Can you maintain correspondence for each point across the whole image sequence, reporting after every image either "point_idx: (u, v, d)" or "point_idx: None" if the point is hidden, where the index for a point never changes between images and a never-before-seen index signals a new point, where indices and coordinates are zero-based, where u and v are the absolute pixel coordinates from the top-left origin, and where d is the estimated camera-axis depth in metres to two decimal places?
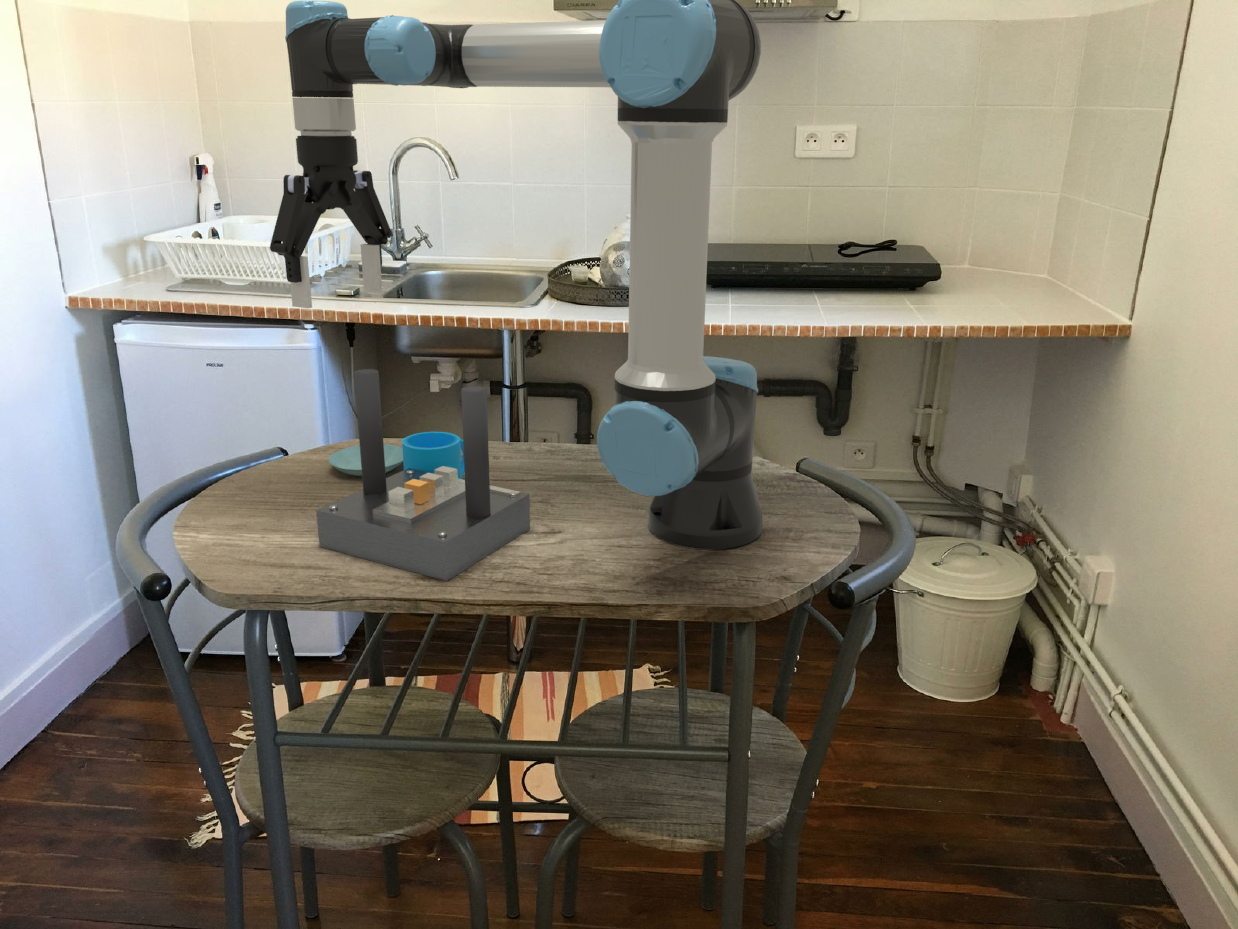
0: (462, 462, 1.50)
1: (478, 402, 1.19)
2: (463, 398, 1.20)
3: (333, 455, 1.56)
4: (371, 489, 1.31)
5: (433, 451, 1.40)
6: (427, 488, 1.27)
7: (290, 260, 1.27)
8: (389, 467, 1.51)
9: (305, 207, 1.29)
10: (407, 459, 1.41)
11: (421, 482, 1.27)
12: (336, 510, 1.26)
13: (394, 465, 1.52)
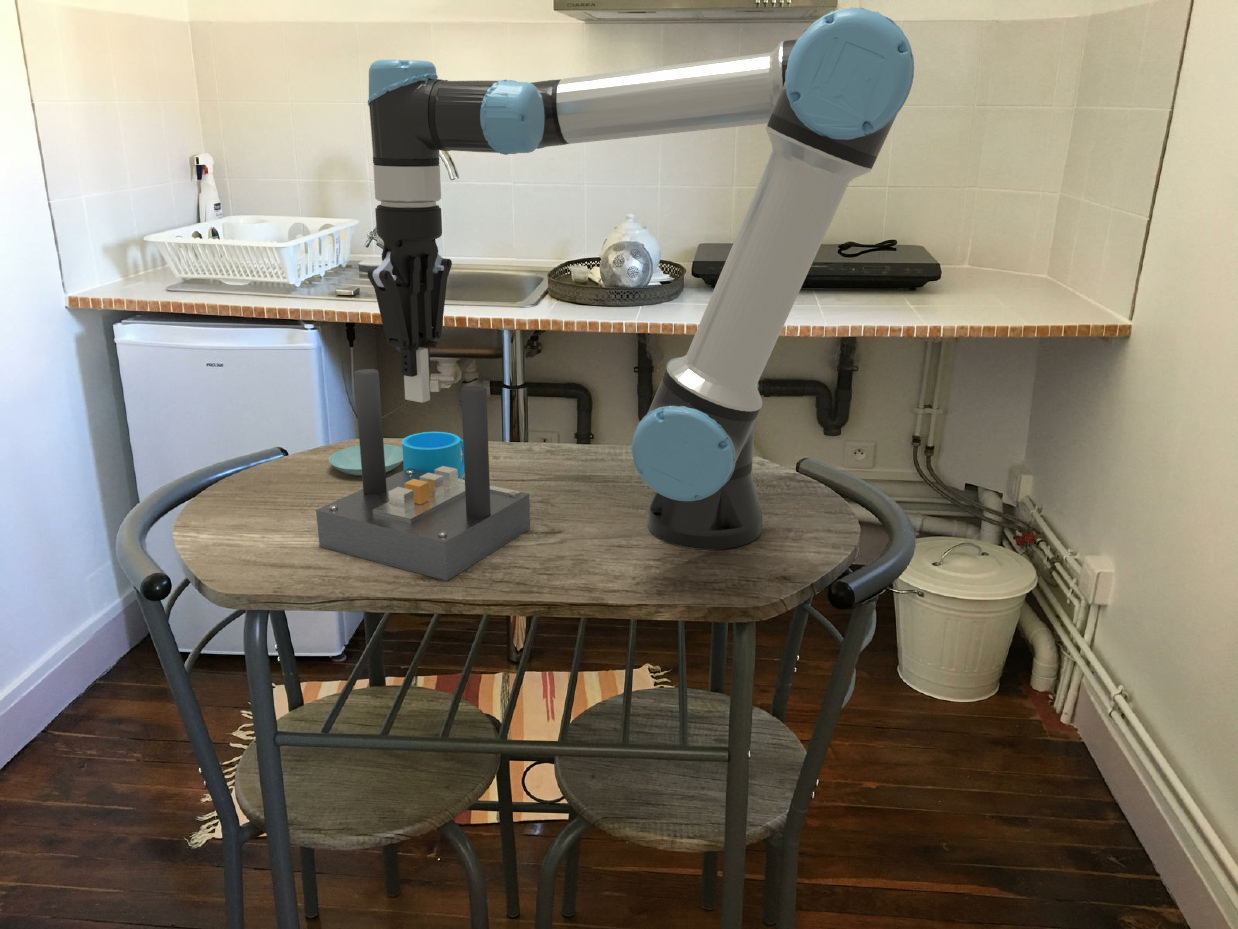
0: (462, 462, 1.50)
1: (478, 402, 1.19)
2: (463, 398, 1.20)
3: (333, 455, 1.56)
4: (371, 489, 1.31)
5: (433, 451, 1.40)
6: (427, 488, 1.27)
7: (407, 354, 1.21)
8: (389, 466, 1.51)
9: (398, 293, 1.19)
10: (407, 459, 1.41)
11: (421, 482, 1.27)
12: (336, 510, 1.26)
13: (394, 465, 1.52)
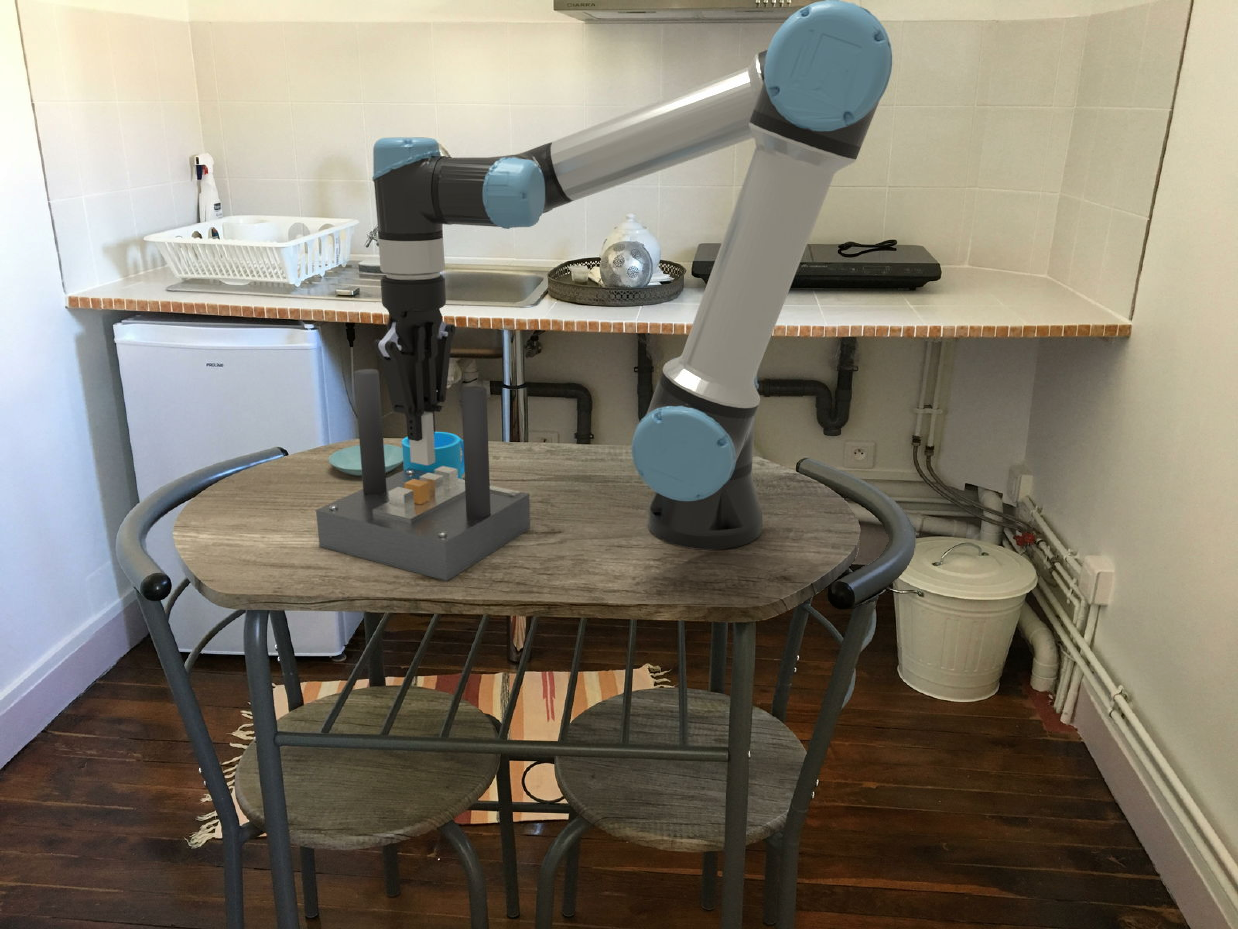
0: (462, 462, 1.50)
1: (478, 402, 1.19)
2: (463, 398, 1.20)
3: (333, 455, 1.56)
4: (371, 489, 1.31)
5: None
6: (427, 488, 1.27)
7: (412, 419, 1.24)
8: (389, 467, 1.52)
9: (403, 360, 1.22)
10: (407, 459, 1.41)
11: (421, 482, 1.27)
12: (336, 510, 1.26)
13: (395, 465, 1.52)
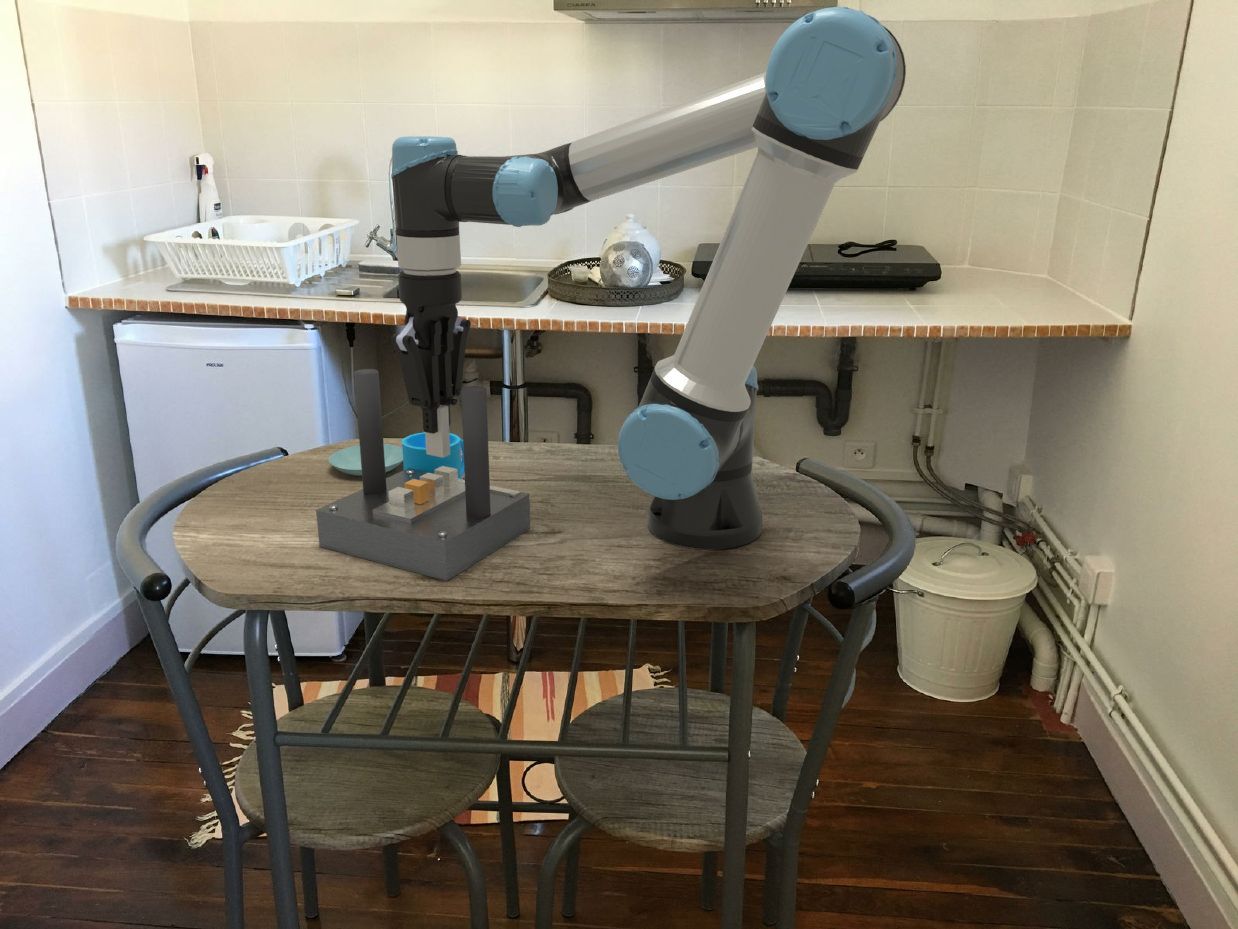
0: (462, 462, 1.50)
1: (478, 402, 1.19)
2: (463, 398, 1.20)
3: (333, 455, 1.56)
4: (371, 489, 1.31)
5: None
6: (427, 488, 1.27)
7: (428, 412, 1.26)
8: (389, 466, 1.52)
9: (420, 355, 1.24)
10: (407, 459, 1.41)
11: (421, 482, 1.27)
12: (336, 510, 1.26)
13: (395, 465, 1.52)
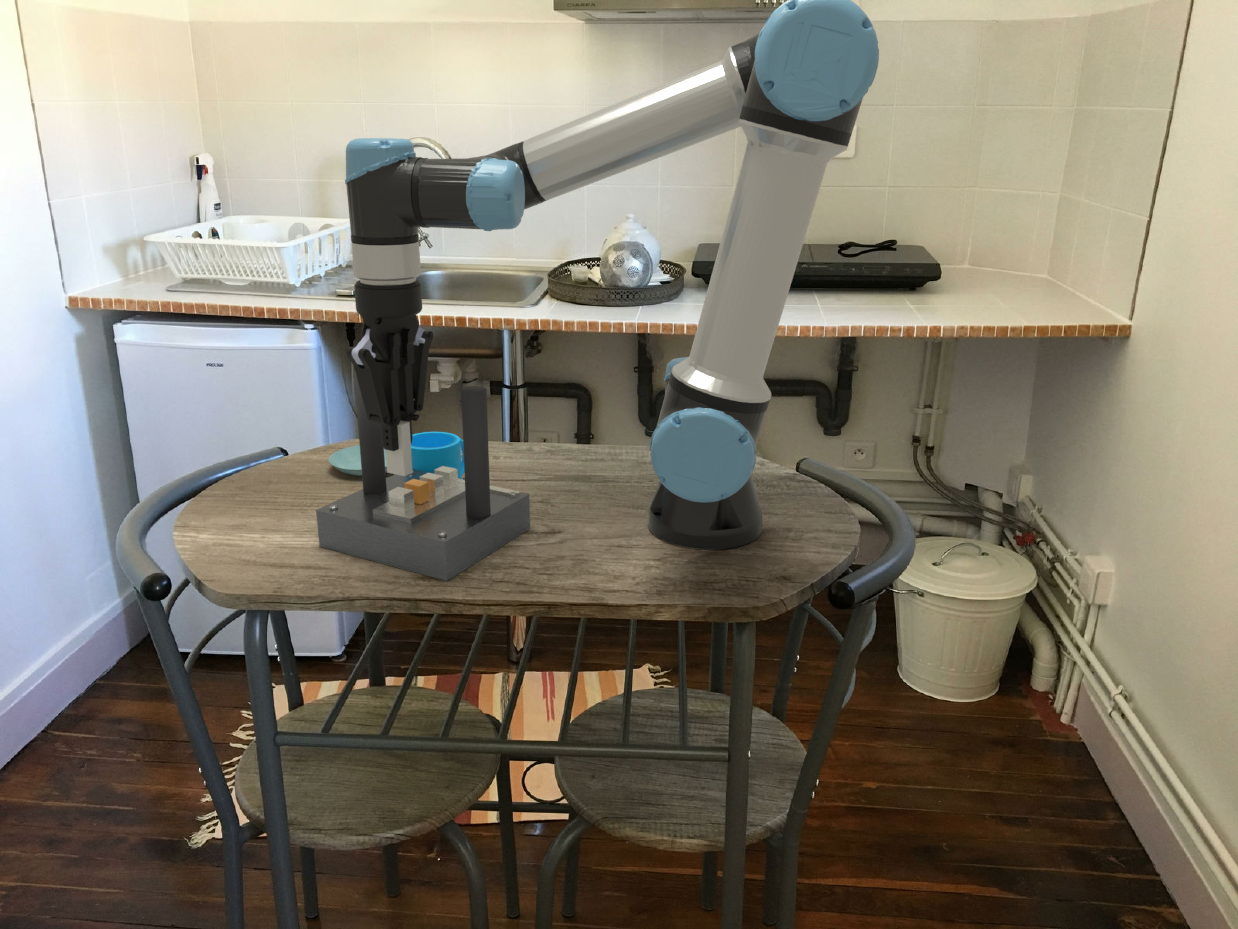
0: (462, 462, 1.50)
1: (478, 402, 1.19)
2: (463, 398, 1.20)
3: (332, 455, 1.56)
4: (371, 489, 1.31)
5: (433, 451, 1.40)
6: (427, 488, 1.27)
7: (388, 429, 1.20)
8: None
9: (379, 368, 1.18)
10: None
11: (421, 482, 1.27)
12: (336, 510, 1.26)
13: None
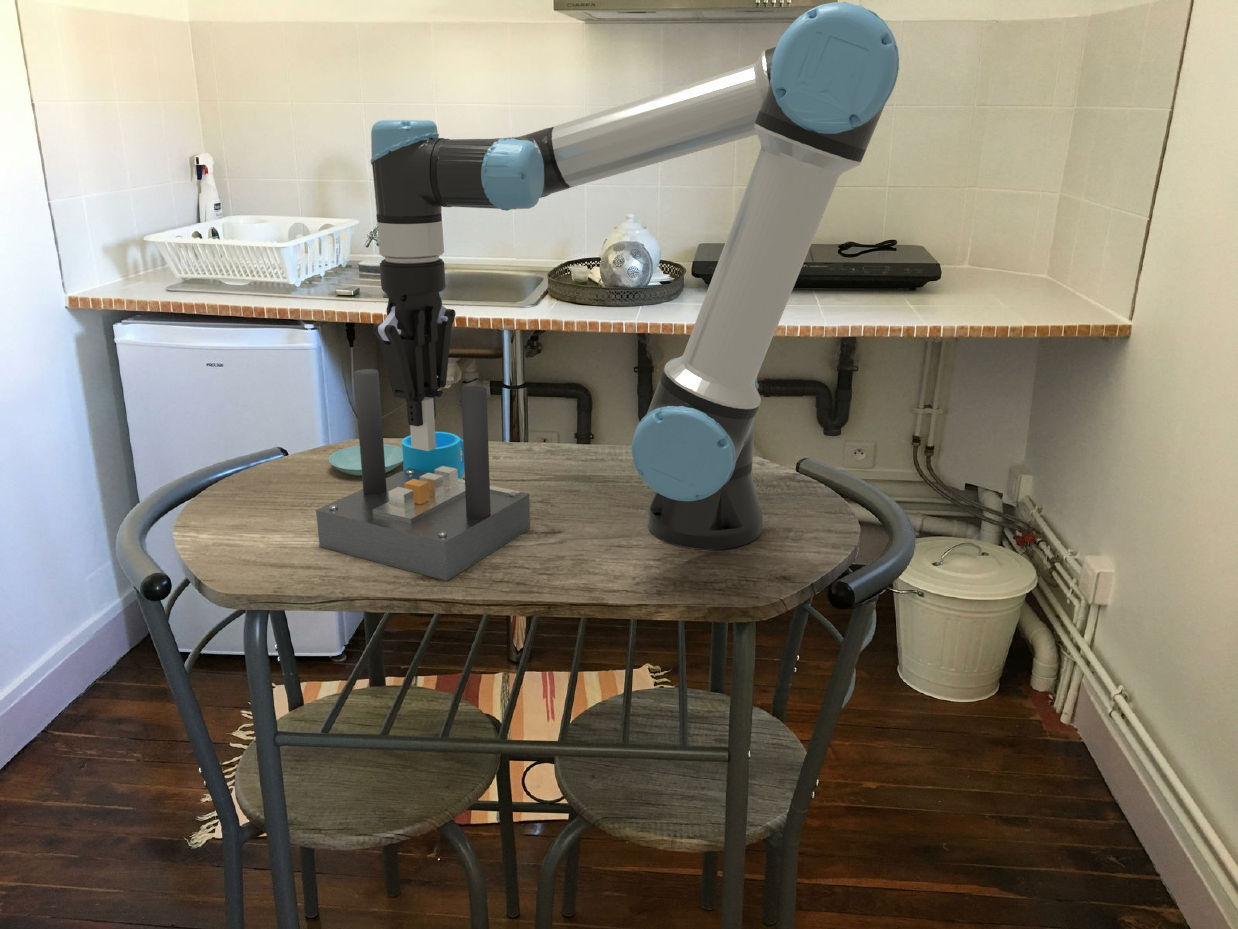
0: (462, 462, 1.50)
1: (478, 402, 1.19)
2: (463, 398, 1.20)
3: (332, 455, 1.56)
4: (371, 489, 1.31)
5: (433, 451, 1.40)
6: (427, 488, 1.27)
7: (412, 404, 1.23)
8: (390, 466, 1.52)
9: (403, 345, 1.21)
10: (407, 459, 1.41)
11: (421, 482, 1.27)
12: (336, 510, 1.26)
13: (395, 465, 1.52)
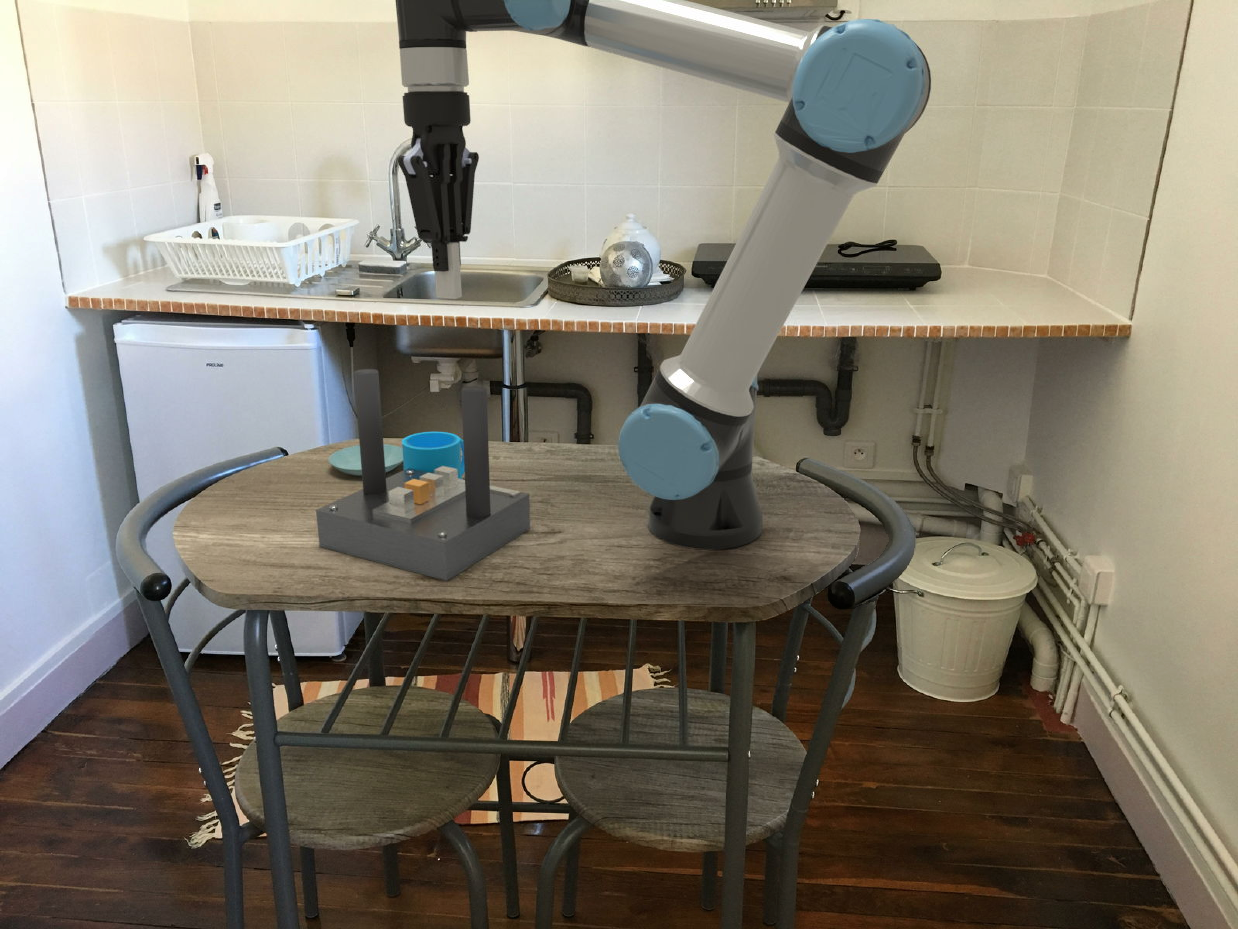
0: (462, 462, 1.50)
1: (478, 402, 1.19)
2: (463, 398, 1.20)
3: (332, 455, 1.56)
4: (371, 489, 1.31)
5: (433, 451, 1.40)
6: (427, 488, 1.27)
7: (438, 247, 1.19)
8: (390, 466, 1.52)
9: None
10: (407, 459, 1.41)
11: (421, 482, 1.27)
12: (336, 510, 1.26)
13: (395, 465, 1.52)
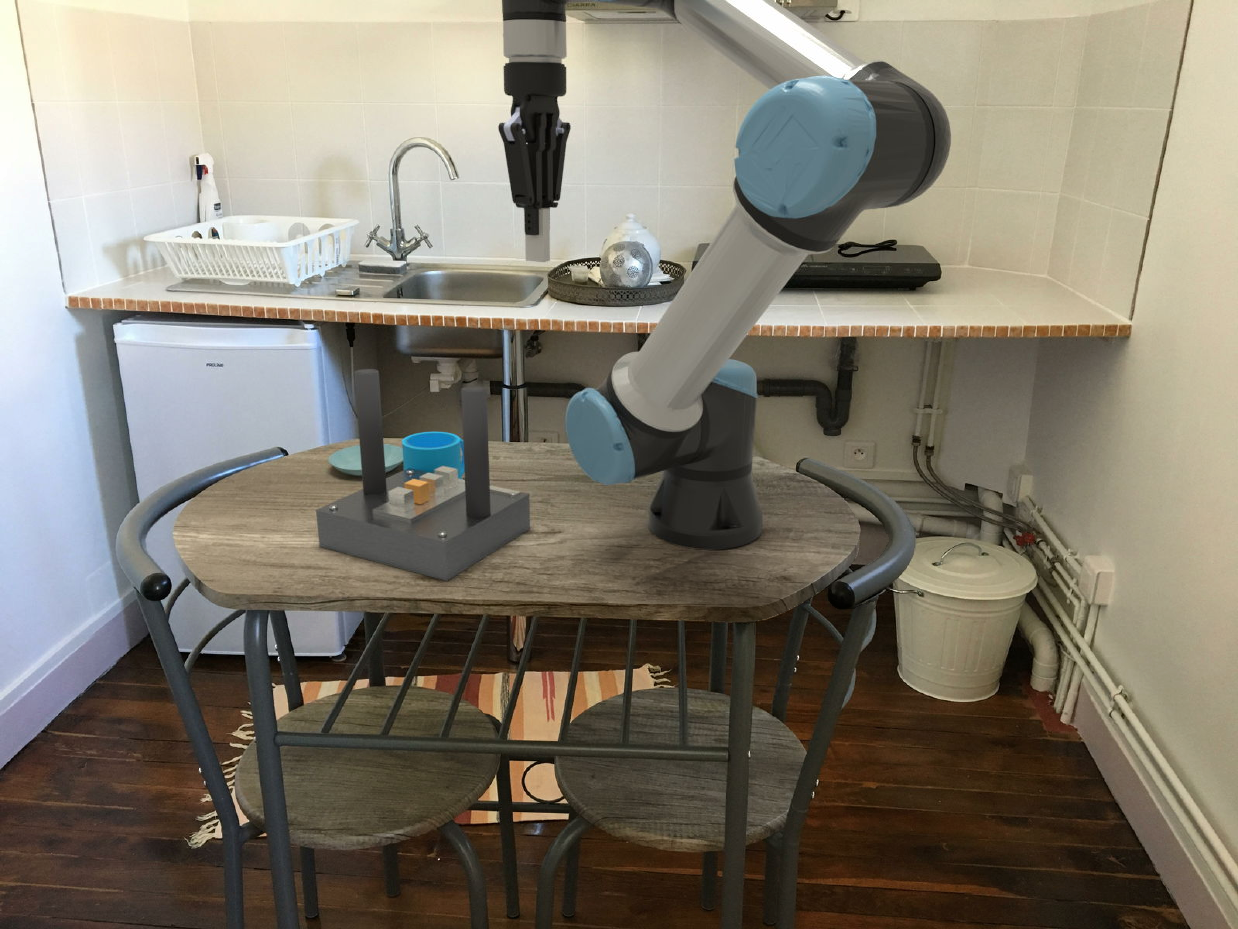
0: (462, 462, 1.50)
1: (478, 402, 1.19)
2: (463, 398, 1.20)
3: (332, 455, 1.56)
4: (371, 489, 1.31)
5: (433, 451, 1.40)
6: (427, 488, 1.27)
7: (530, 212, 1.25)
8: (390, 466, 1.52)
9: None
10: (407, 459, 1.41)
11: (421, 482, 1.27)
12: (336, 510, 1.26)
13: (395, 464, 1.52)
